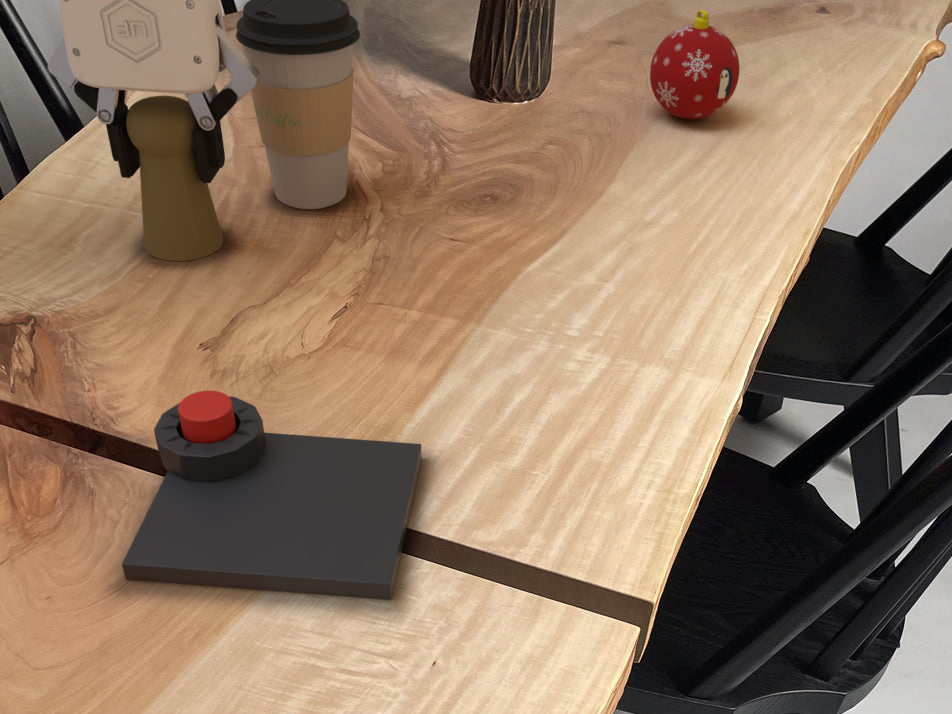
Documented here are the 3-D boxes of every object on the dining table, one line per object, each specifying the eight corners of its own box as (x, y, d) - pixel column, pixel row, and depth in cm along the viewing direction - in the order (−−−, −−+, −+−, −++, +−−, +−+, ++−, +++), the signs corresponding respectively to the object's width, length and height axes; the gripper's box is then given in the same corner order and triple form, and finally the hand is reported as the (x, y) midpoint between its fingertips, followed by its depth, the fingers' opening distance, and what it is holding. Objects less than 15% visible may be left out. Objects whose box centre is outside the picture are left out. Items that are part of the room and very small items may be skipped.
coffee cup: (236, 209, 90) (211, 18, 81) (281, 164, 97) (263, -17, 88) (345, 226, 89) (332, 32, 79) (383, 179, 96) (375, -4, 86)
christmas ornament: (694, 95, 114) (709, -8, 108) (749, 123, 109) (768, 17, 102) (627, 108, 111) (639, 3, 104) (681, 139, 105) (696, 30, 99)
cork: (139, 230, 87) (111, 90, 80) (216, 220, 89) (196, 83, 82) (148, 265, 83) (120, 121, 76) (229, 255, 85) (209, 112, 77)
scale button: (176, 443, 62) (170, 418, 61) (191, 412, 65) (186, 388, 63) (228, 447, 62) (224, 422, 61) (241, 416, 64) (238, 391, 63)
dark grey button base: (107, 579, 58) (95, 536, 56) (181, 432, 67) (173, 391, 65) (391, 600, 57) (389, 558, 55) (423, 449, 67) (422, 409, 65)
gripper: (-33, -93, 68) (39, 187, 80) (242, -77, 67) (273, 202, 79) (17, -119, 73) (78, 146, 85) (271, -105, 73) (296, 160, 85)
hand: (171, 170), depth 82 cm, fingers closed on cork, 5 cm apart
